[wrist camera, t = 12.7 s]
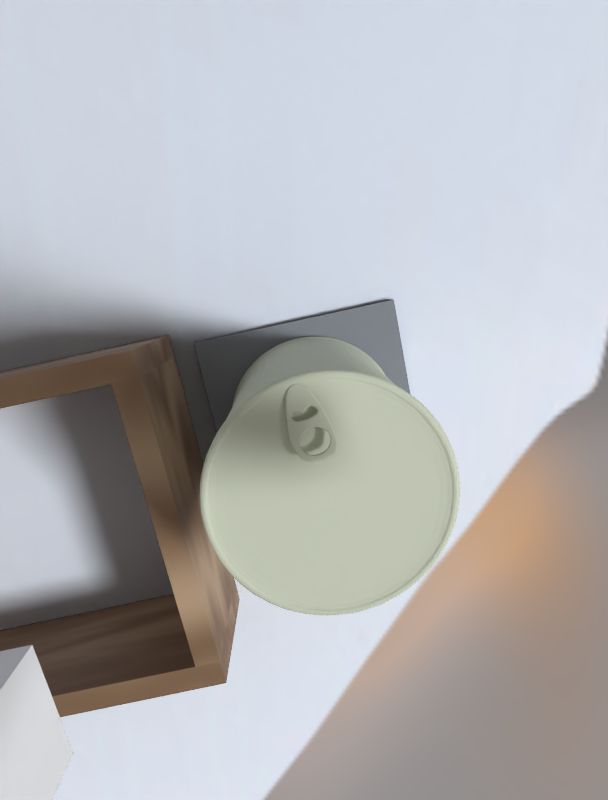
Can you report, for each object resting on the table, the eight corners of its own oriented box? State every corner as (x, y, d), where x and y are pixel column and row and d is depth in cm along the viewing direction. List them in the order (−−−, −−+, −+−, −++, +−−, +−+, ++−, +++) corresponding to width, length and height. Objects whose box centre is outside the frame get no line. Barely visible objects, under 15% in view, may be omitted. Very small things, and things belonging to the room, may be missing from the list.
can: (370, 313, 29) (428, 333, 17) (415, 468, 30) (494, 582, 19) (208, 366, 29) (154, 421, 17) (262, 516, 31) (246, 657, 19)
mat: (194, 342, 29) (193, 343, 29) (392, 299, 29) (393, 299, 28) (242, 524, 31) (241, 527, 31) (425, 486, 31) (426, 488, 31)
